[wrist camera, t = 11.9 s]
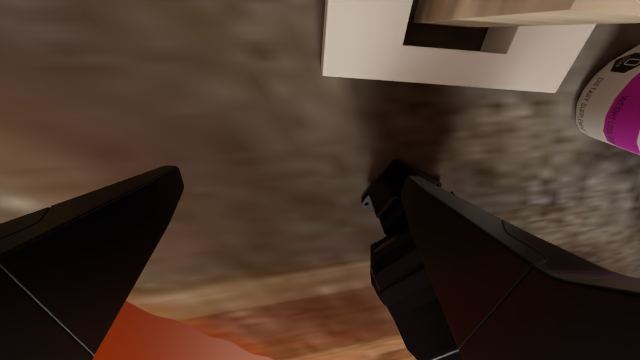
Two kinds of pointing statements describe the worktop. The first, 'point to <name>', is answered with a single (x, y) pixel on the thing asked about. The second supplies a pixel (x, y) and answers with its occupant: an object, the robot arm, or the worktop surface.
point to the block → (526, 12)
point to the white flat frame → (444, 50)
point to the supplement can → (613, 103)
